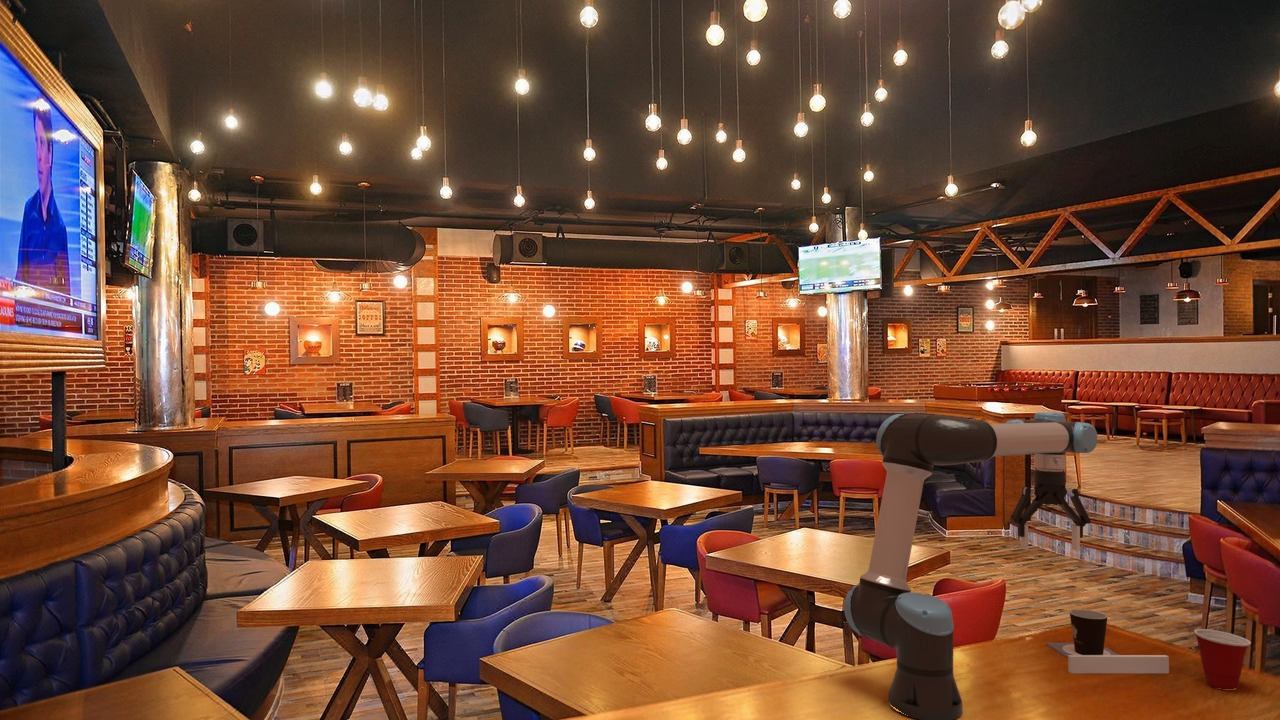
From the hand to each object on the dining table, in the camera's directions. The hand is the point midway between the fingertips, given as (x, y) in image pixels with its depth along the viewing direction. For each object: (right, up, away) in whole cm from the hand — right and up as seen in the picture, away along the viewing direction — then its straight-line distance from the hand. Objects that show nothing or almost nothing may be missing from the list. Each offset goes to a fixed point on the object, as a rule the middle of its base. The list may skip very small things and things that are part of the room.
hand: (1050, 549), depth 213 cm
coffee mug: (+8, -26, -4) cm, 27 cm away
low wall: (+7, -26, -18) cm, 32 cm away
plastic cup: (+26, -26, -27) cm, 46 cm away
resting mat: (+7, -26, -4) cm, 28 cm away
